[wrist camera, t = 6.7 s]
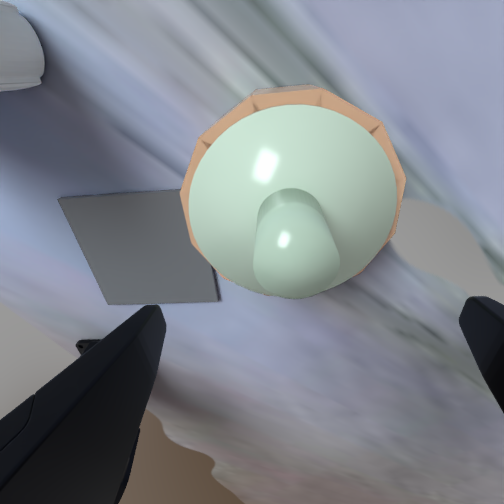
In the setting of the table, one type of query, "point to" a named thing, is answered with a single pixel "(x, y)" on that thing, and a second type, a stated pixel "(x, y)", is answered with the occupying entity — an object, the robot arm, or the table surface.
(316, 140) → the lid
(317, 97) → the bowl
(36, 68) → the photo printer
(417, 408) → the table surface
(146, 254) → the mat
